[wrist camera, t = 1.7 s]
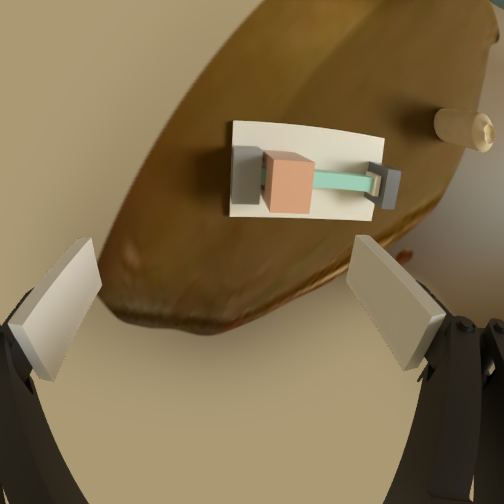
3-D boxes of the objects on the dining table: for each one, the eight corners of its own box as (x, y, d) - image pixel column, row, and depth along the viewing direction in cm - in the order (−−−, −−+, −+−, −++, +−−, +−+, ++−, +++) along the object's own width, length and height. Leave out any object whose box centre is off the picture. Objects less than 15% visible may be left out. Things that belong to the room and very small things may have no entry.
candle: (437, 145, 34) (483, 159, 25) (429, 112, 32) (476, 118, 23) (458, 136, 33) (502, 149, 25) (451, 105, 31) (496, 111, 22)
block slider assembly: (233, 120, 31) (235, 121, 26) (381, 138, 33) (405, 143, 28) (229, 214, 36) (231, 231, 31) (368, 218, 39) (388, 235, 33)
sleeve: (261, 150, 32) (273, 159, 25) (294, 152, 32) (315, 162, 25) (259, 191, 34) (269, 212, 27) (291, 192, 35) (309, 214, 28)
